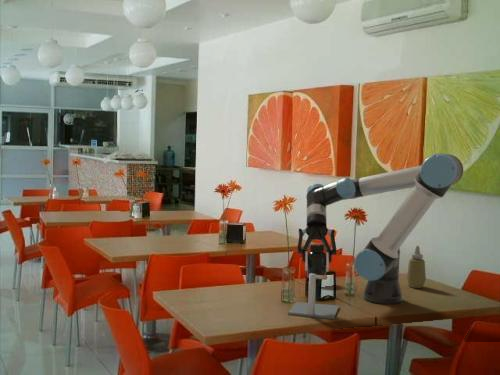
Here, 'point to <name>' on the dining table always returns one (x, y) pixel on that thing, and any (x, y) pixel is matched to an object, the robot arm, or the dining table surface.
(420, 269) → the squeeze bottle
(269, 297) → the dining table surface
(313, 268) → the supplement bottle
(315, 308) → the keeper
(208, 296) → the dining table surface
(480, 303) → the dining table surface
